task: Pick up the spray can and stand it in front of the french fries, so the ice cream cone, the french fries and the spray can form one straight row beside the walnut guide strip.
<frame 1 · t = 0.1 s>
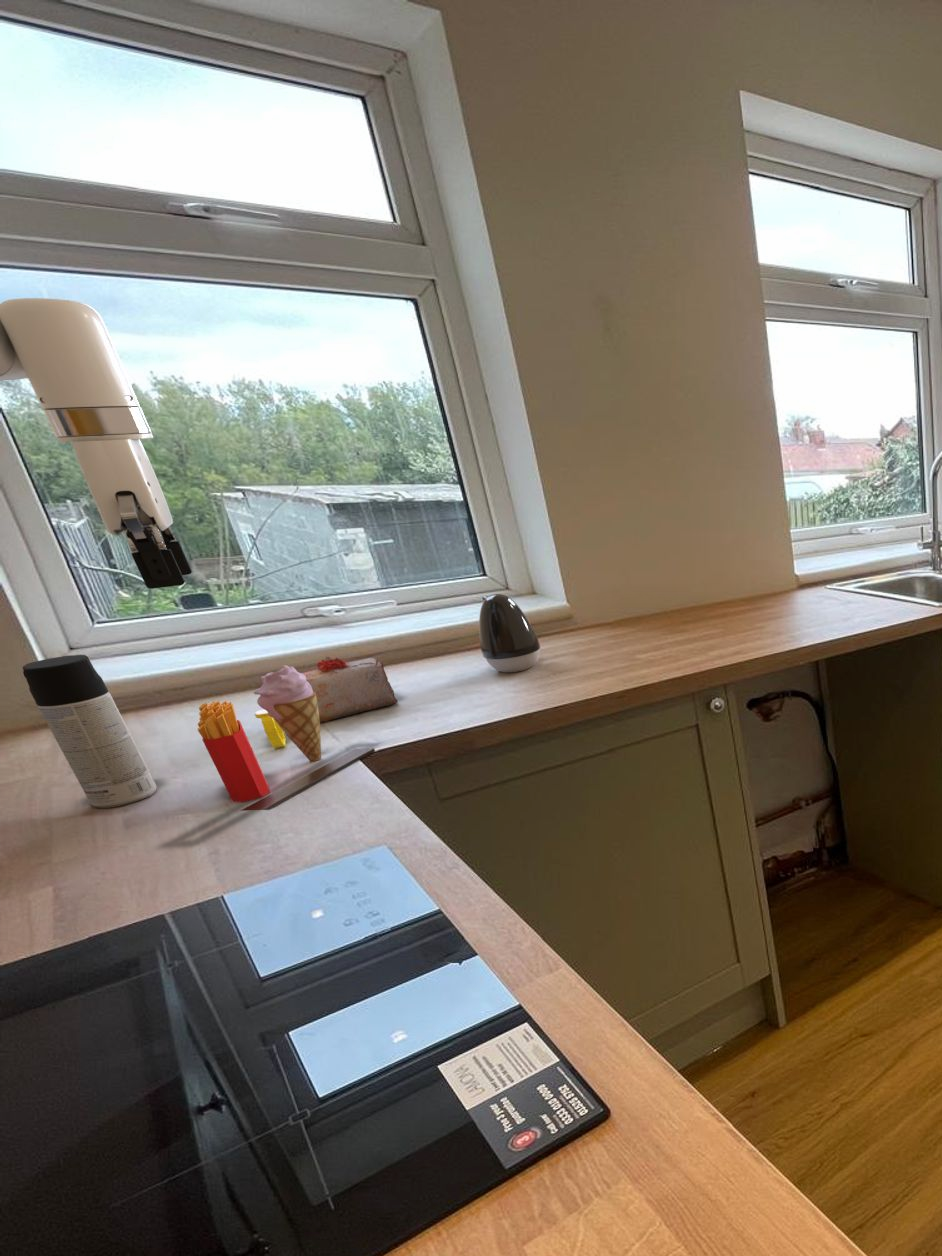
hand: (171, 580, 96), 30 cm above the worktop, tool pointing down, fingers open, 9 cm apart
french fries: (251, 794, 113), on the worktop
egg-shaped speaker: (517, 669, 164), on the worktop
spray can: (127, 799, 113), on the worktop
food item: (350, 713, 144), on the worktop
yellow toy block: (281, 746, 130), on the worktop
ice cream cone: (313, 761, 123), on the worktop
guide strip: (286, 794, 112), on the worktop
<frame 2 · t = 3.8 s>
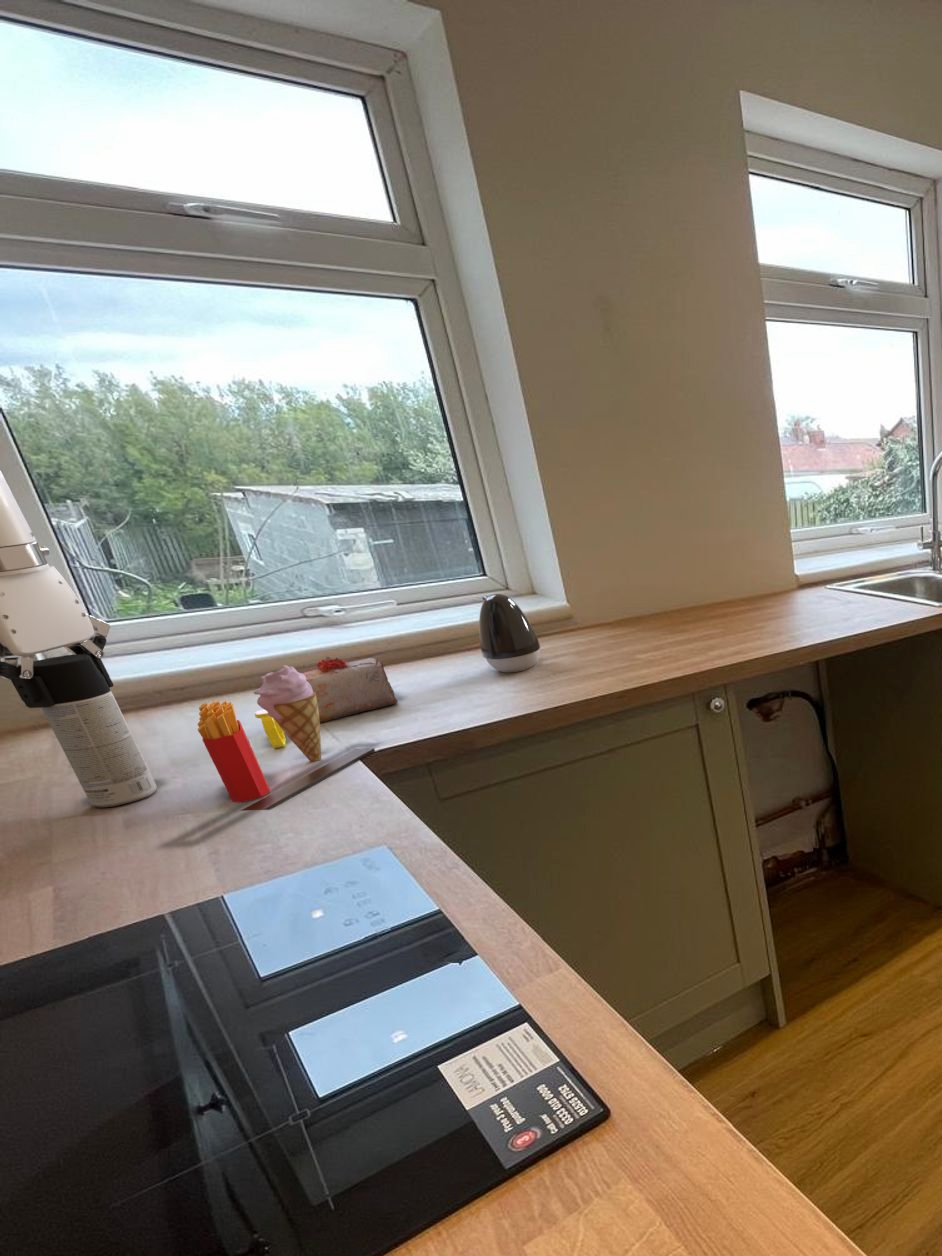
hand: (71, 695, 107), 15 cm above the worktop, tool pointing down, fingers closed on spray can, 6 cm apart
spray can: (126, 799, 113), on the worktop, touching gripper
everything else where it was.
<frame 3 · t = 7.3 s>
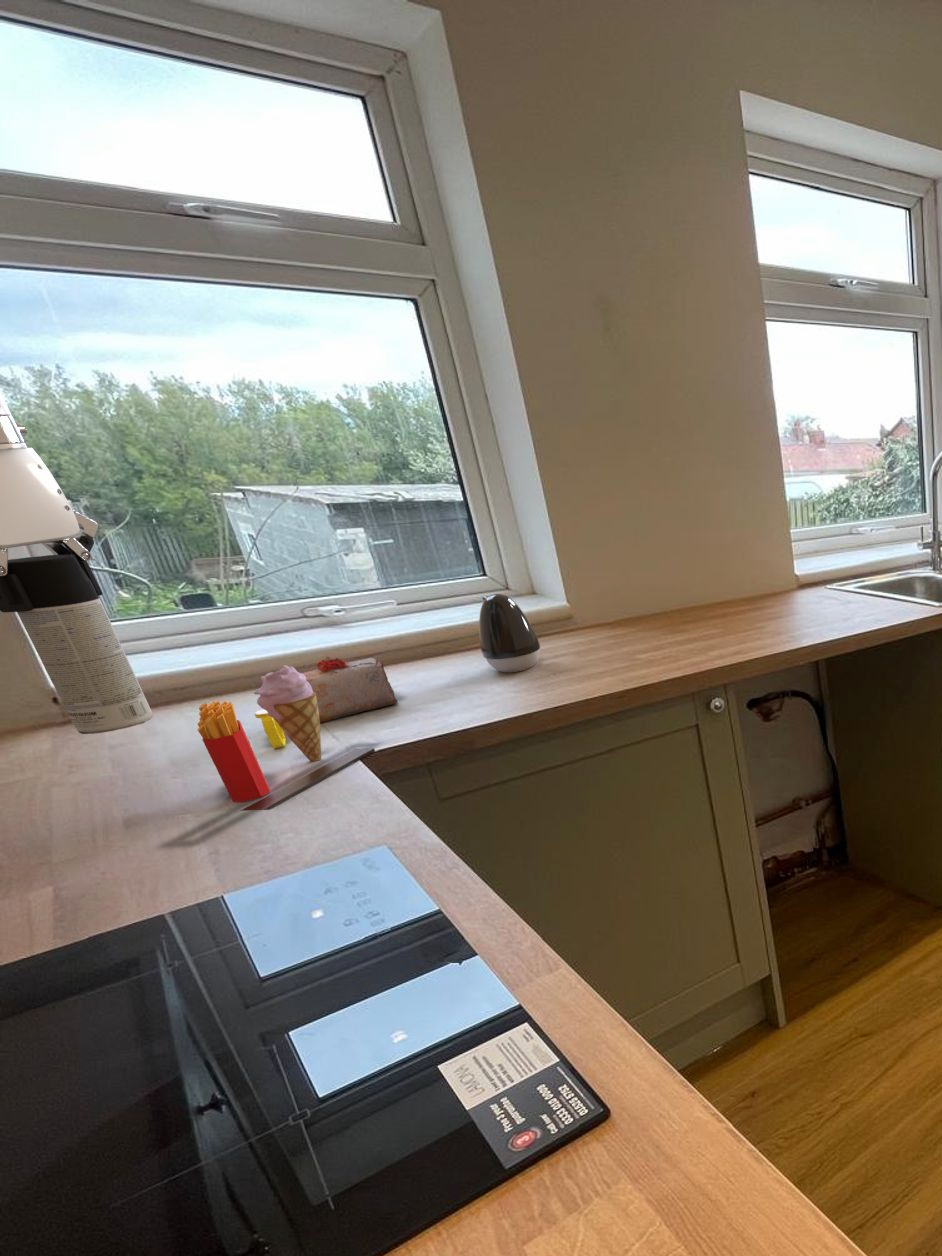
hand: (53, 602, 92), 29 cm above the worktop, tool pointing down, fingers closed on spray can, 6 cm apart
spray can: (118, 726, 98), point 14 cm above the worktop, touching gripper
everything else where it was.
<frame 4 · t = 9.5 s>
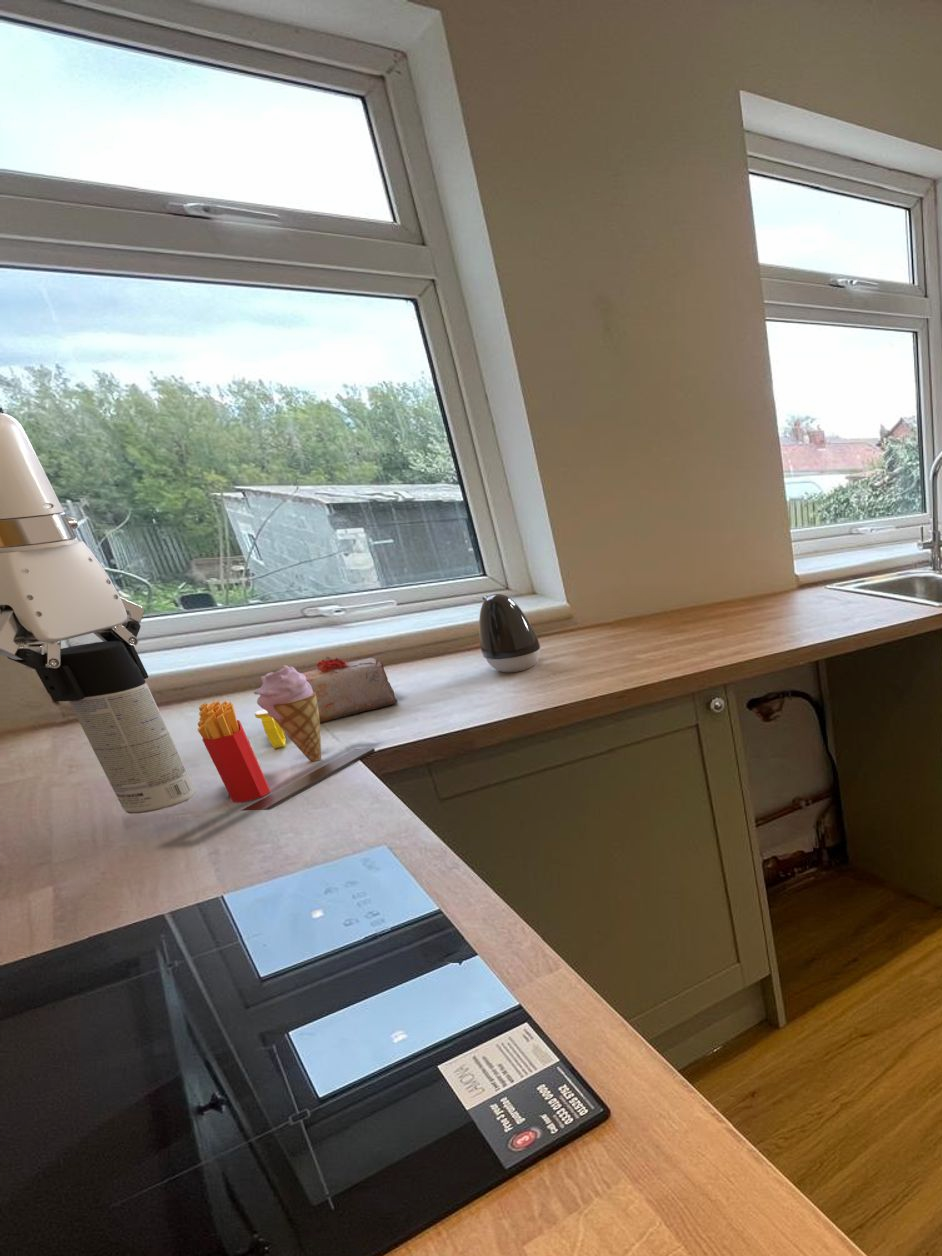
hand: (102, 688, 95), 19 cm above the worktop, tool pointing down, fingers closed on spray can, 6 cm apart
spray can: (163, 804, 101), point 4 cm above the worktop, touching gripper
everything else where it was.
when the fingers open (15 cm above the worktop, at t = 11.1 s): spray can stays where it is, on the worktop.
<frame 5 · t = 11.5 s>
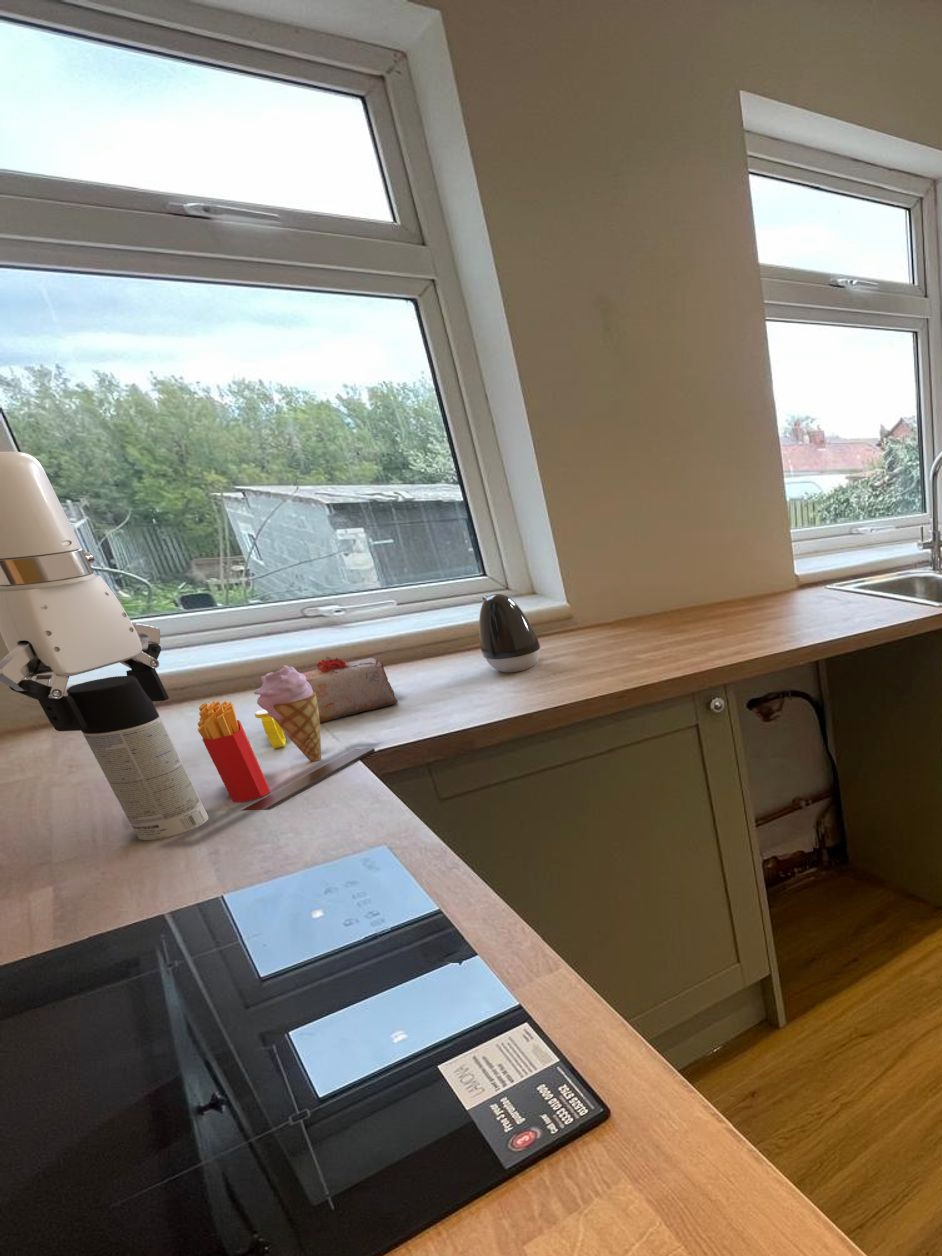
hand: (115, 714, 96), 16 cm above the worktop, tool pointing down, fingers open, 9 cm apart
spray can: (177, 834, 103), on the worktop
everything else where it was.
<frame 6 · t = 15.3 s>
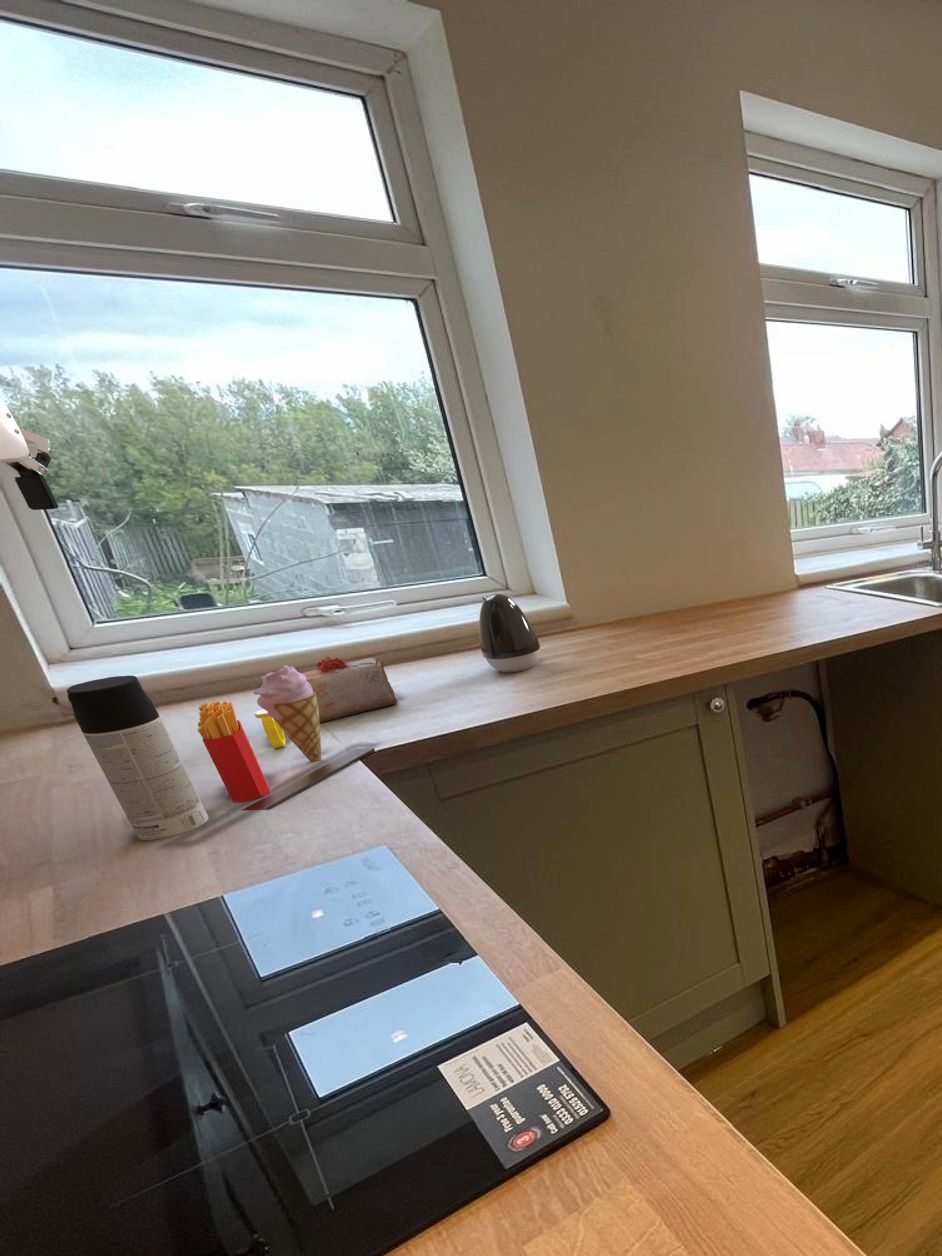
hand: (1, 514, 99), 38 cm above the worktop, tool pointing down, fingers open, 9 cm apart
nothing on the worktop moved.
at the end: spray can 0.9 cm from the target spot on the worktop beside the french fries, on the worktop; spray can tilted 0°; french fries moved 0.2 cm from its start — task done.
